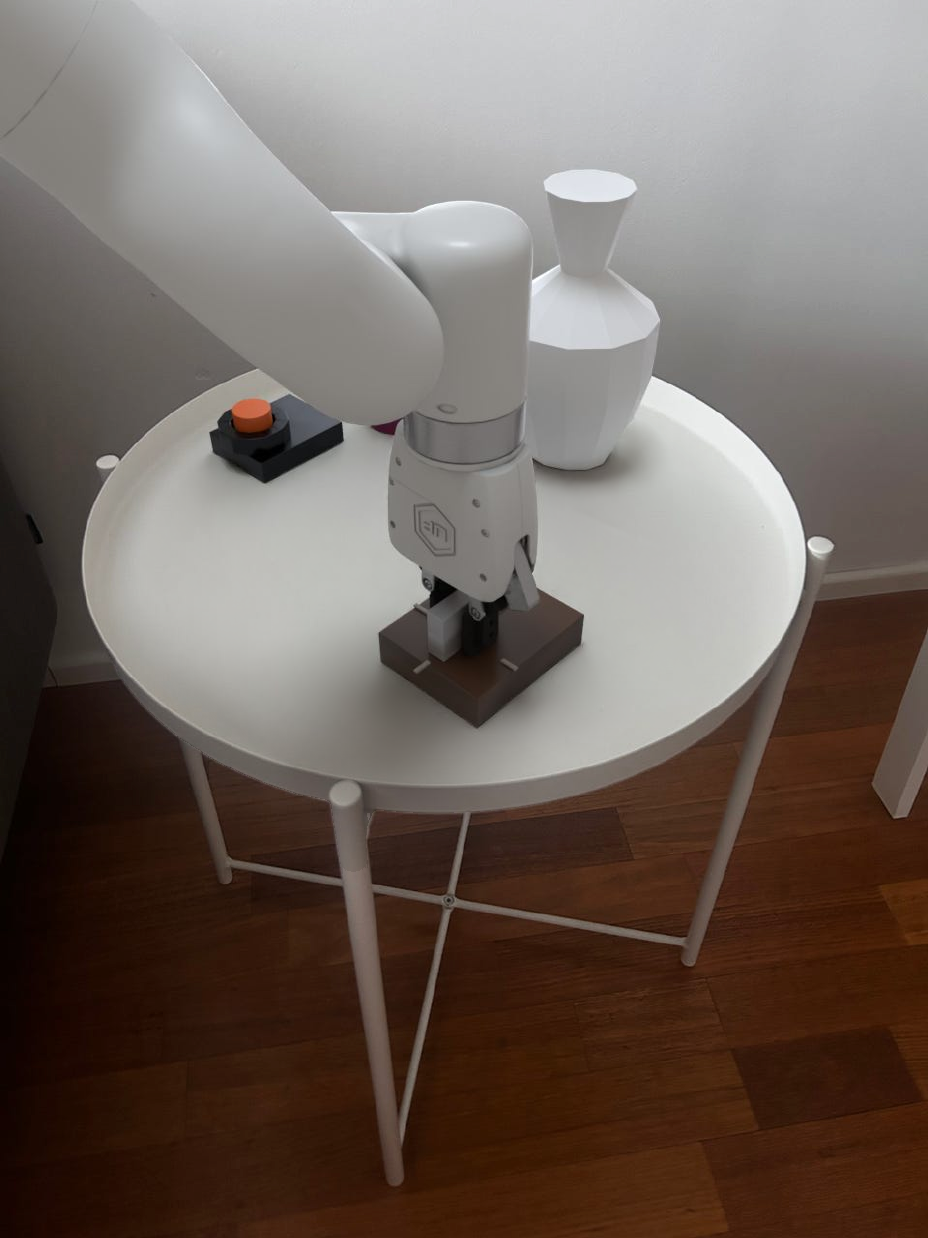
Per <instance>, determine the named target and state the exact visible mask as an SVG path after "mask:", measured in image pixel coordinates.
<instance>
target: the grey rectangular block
mask: <svg viewBox="0 0 928 1238" xmlns="http://www.w3.org/2000/svg"><path fill="white" fill-rule="evenodd" d="M468 610H469V602H468V595H467V594H465V593H464V592H462V591H460V590H456V591H455V592H454V593H452V594H451V595H449V596H448V597H446V598H445V599H443V600H442V601H441V602H439V603H438V604H436V605H435V606H433V607H432V608H431V609H429V610H428V611H427V626H428V651H429V652H430V653H431V654H433V655H434V656H436V657H437V658H439V659H440V660H442V661H443V662H444V661H446V660H447V659H448V658H450V657H451V656H452V655H454V654H455V653H456V652H458V651H459V650H460V649H462V617H463V615H464V613H466V612H467V611H468Z"/></svg>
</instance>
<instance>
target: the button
mask: <svg viewBox="0 0 928 1238" xmlns="http://www.w3.org/2000/svg"><path fill="white" fill-rule="evenodd" d="M269 403H270V402H268V401H266V400H265V399H262V398H246V399H242V400H240V401H238V402H236V403H234V404H233V406H232V407H231V409H232V416H233V422H234V427H235V429H236V430H237V431H239V432H246V433H253V432H259V431H264V430H266V429H268V428H270V427H271V426H272V424H273V420H272V413H271V406H270V404H269Z"/></svg>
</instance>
